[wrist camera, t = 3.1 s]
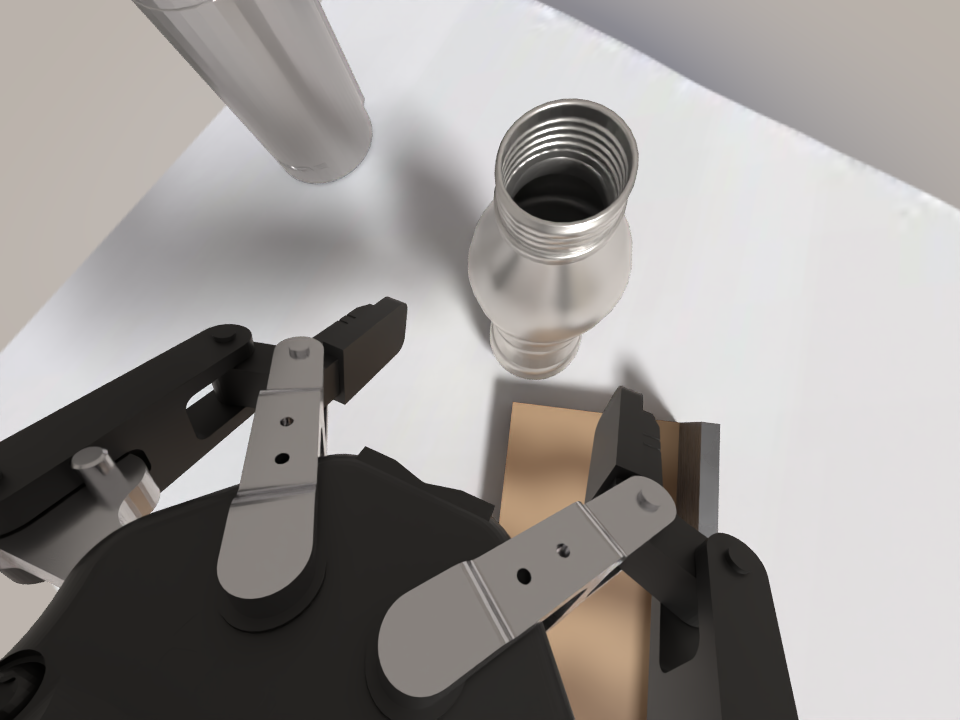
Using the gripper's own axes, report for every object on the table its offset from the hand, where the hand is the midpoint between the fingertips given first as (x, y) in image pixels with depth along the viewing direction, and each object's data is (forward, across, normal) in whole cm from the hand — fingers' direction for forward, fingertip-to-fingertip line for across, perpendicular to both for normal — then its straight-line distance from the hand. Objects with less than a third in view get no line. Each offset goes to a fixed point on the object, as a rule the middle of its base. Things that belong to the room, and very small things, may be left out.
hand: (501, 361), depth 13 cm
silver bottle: (+14, 0, +8) cm, 16 cm away
